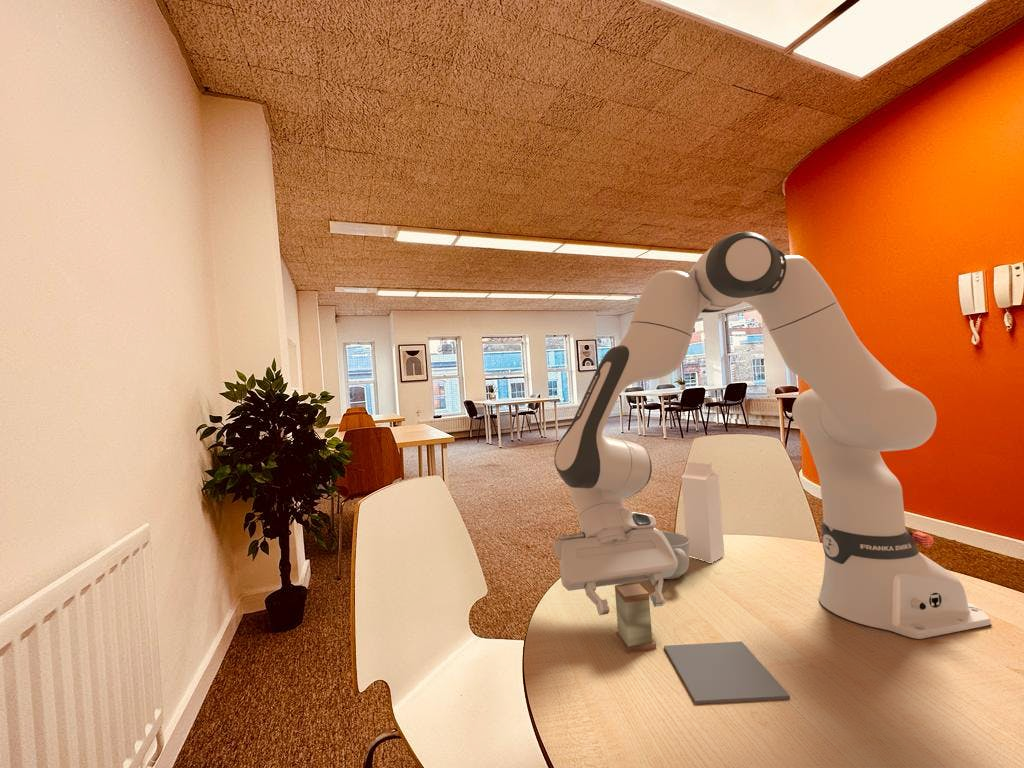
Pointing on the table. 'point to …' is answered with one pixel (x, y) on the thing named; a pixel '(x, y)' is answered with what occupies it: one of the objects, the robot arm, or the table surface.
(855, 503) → the robot arm
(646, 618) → the banded square pillar
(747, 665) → the mat
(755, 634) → the table surface
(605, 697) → the table surface
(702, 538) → the milk
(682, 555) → the teacup
